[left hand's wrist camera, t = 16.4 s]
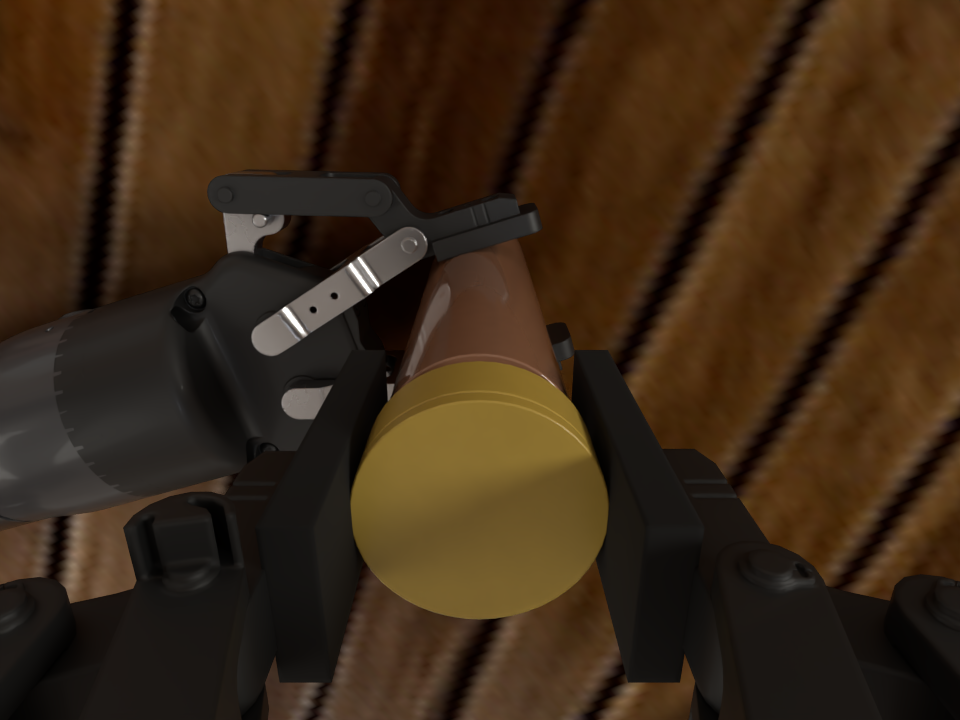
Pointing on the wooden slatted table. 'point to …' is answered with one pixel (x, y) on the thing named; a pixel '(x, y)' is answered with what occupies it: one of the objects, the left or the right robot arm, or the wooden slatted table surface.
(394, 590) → the lid
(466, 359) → the brown long cylinder
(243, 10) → the wooden slatted table surface
